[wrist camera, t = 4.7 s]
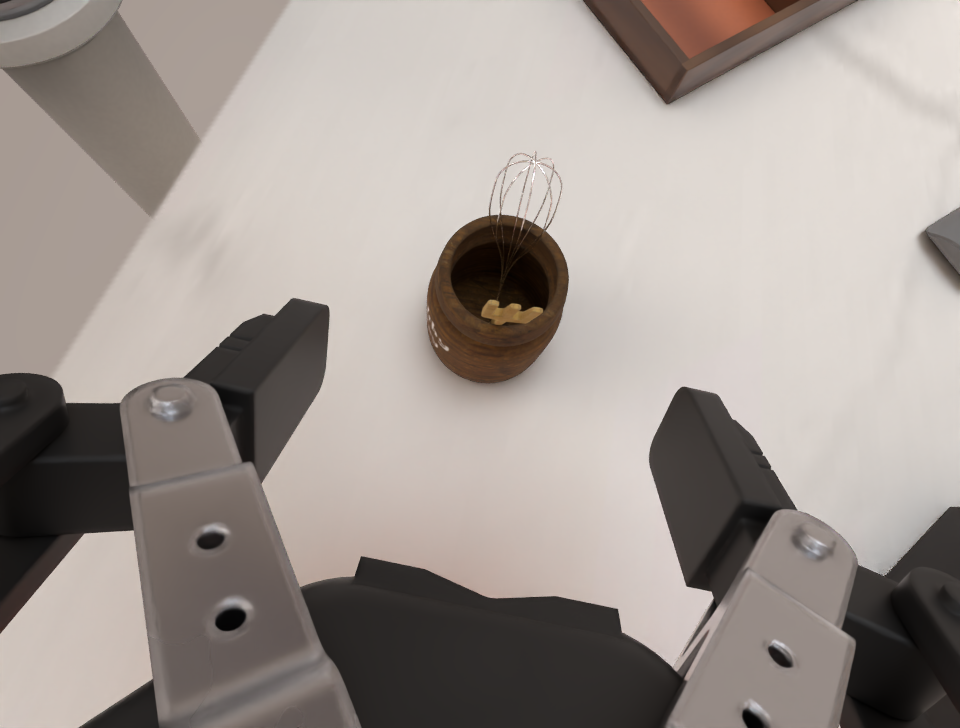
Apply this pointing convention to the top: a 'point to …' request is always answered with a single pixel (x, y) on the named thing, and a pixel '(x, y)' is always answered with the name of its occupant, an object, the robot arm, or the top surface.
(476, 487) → the top surface
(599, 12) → the sorting tray
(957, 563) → the lamp
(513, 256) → the utensil holder
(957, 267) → the half round rod
